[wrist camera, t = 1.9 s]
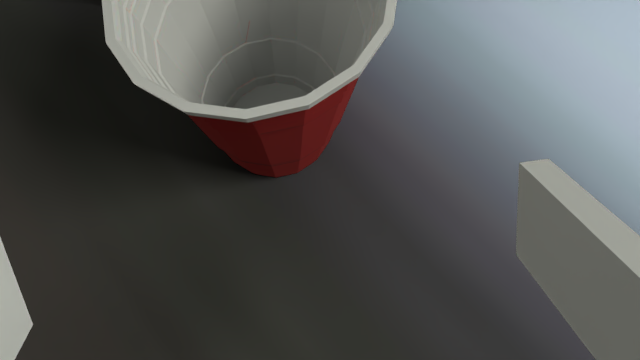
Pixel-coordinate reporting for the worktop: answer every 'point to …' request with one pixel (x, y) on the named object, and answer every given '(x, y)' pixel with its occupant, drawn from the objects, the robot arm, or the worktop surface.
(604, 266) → the robot arm
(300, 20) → the plastic cup
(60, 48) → the worktop surface
